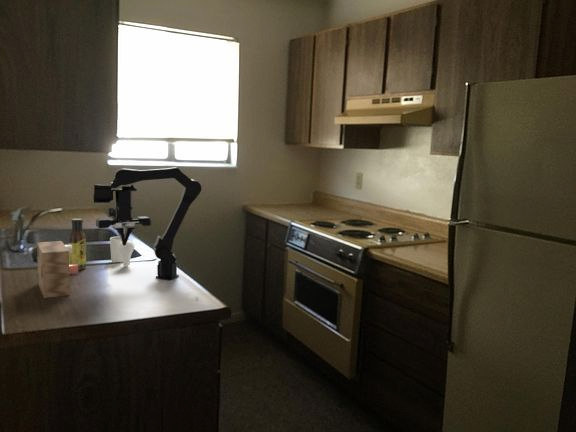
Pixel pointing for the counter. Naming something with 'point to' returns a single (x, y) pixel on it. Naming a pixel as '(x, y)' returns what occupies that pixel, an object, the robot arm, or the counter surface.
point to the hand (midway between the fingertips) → (124, 245)
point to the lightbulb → (126, 252)
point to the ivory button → (69, 248)
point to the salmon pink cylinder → (73, 269)
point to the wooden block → (53, 269)
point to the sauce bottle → (77, 245)
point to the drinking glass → (115, 249)
